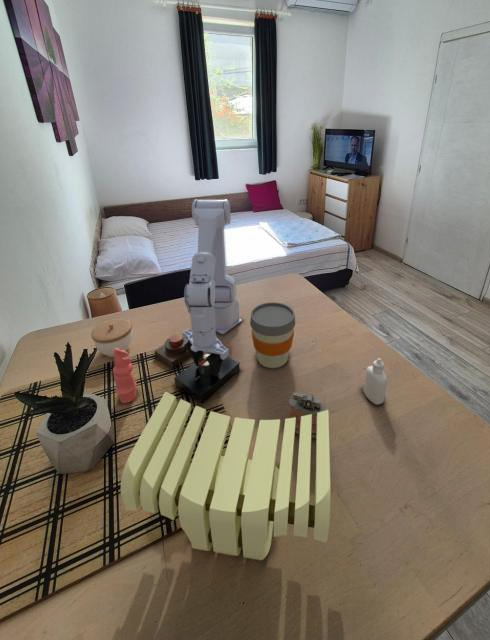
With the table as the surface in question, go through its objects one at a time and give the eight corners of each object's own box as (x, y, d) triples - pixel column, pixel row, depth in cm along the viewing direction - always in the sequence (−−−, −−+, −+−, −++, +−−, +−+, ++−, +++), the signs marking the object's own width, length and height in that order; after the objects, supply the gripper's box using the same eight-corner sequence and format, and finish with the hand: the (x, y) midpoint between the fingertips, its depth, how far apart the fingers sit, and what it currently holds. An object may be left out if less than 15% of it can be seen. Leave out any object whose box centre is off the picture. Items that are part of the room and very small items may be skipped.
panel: (214, 356, 95) (213, 348, 94) (239, 371, 90) (239, 362, 88) (175, 386, 85) (174, 377, 83) (202, 405, 79) (201, 395, 78)
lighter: (325, 428, 73) (328, 395, 69) (322, 441, 70) (325, 407, 66) (290, 418, 76) (291, 385, 72) (286, 430, 73) (287, 397, 69)
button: (177, 337, 98) (176, 332, 97) (185, 342, 96) (184, 337, 95) (167, 343, 95) (166, 339, 94) (175, 348, 93) (174, 343, 92)
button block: (182, 339, 103) (180, 328, 101) (199, 349, 98) (198, 338, 97) (155, 356, 95) (153, 345, 93) (173, 368, 91) (171, 356, 89)
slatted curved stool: (137, 548, 53) (116, 478, 46) (176, 455, 67) (165, 391, 60) (322, 581, 49) (331, 510, 42) (322, 475, 64) (328, 409, 57)
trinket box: (117, 365, 92) (111, 338, 88) (88, 357, 95) (80, 331, 91) (143, 342, 101) (138, 317, 97) (115, 335, 104) (109, 311, 100)
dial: (207, 361, 89) (206, 350, 87) (219, 368, 86) (218, 357, 85) (195, 371, 85) (194, 359, 84) (207, 378, 83) (206, 367, 82)
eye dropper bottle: (379, 388, 84) (386, 351, 79) (384, 406, 79) (391, 368, 74) (362, 387, 84) (368, 350, 80) (365, 404, 79) (372, 366, 75)
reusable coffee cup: (243, 365, 92) (241, 321, 86) (261, 339, 102) (261, 298, 96) (285, 377, 87) (286, 332, 81) (299, 349, 98) (301, 307, 92)
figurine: (143, 389, 84) (133, 342, 78) (133, 405, 79) (122, 356, 73) (124, 387, 84) (113, 340, 78) (113, 403, 80) (100, 355, 74)
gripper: (171, 323, 81) (177, 365, 87) (212, 345, 73) (216, 390, 79) (192, 310, 86) (197, 351, 92) (233, 330, 79) (235, 373, 84)
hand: (207, 368), depth 86 cm, fingers open, 6 cm apart
